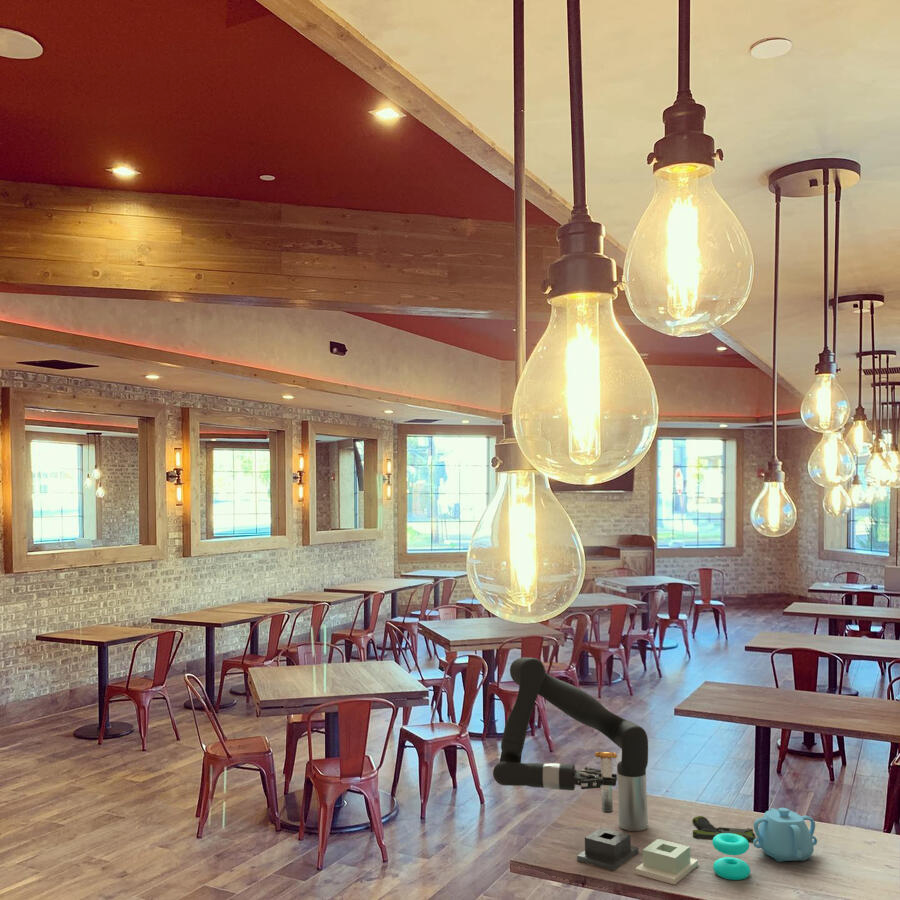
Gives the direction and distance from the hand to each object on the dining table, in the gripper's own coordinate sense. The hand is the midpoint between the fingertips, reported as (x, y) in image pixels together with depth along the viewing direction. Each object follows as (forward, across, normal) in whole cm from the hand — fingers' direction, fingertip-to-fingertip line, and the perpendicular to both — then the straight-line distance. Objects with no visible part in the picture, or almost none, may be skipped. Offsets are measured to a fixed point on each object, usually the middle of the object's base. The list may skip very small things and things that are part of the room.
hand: (616, 779), depth 262 cm
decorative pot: (+49, +11, +23) cm, 55 cm away
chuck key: (-3, 0, +10) cm, 10 cm away
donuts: (+32, -5, +23) cm, 40 cm away
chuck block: (-3, 0, +23) cm, 23 cm away
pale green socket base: (+14, -6, +23) cm, 27 cm away
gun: (+31, +27, +24) cm, 47 cm away
